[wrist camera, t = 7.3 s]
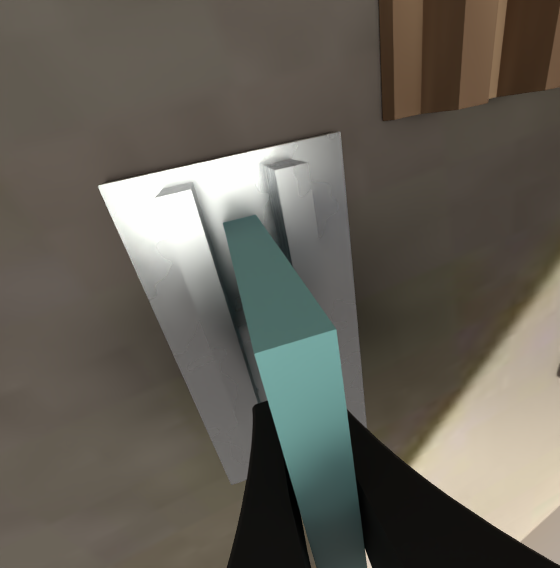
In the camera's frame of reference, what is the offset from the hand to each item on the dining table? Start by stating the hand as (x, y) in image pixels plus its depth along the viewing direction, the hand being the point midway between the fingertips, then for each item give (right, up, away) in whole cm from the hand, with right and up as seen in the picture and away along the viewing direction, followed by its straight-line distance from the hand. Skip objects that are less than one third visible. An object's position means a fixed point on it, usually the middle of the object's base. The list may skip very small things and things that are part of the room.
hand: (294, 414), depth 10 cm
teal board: (-1, +1, +3) cm, 4 cm away
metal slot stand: (-1, +2, +4) cm, 4 cm away
